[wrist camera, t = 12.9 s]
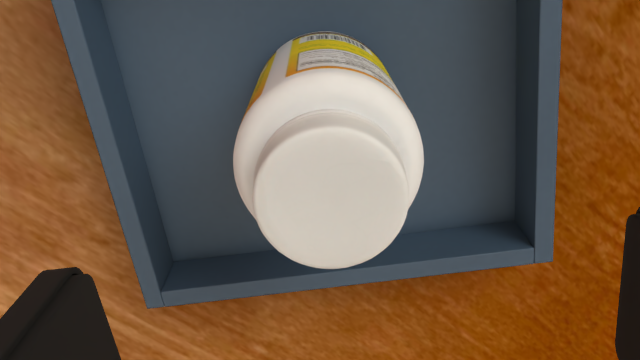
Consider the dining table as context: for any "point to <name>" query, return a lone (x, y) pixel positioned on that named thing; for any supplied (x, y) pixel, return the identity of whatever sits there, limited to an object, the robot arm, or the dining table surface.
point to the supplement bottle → (327, 152)
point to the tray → (233, 99)
